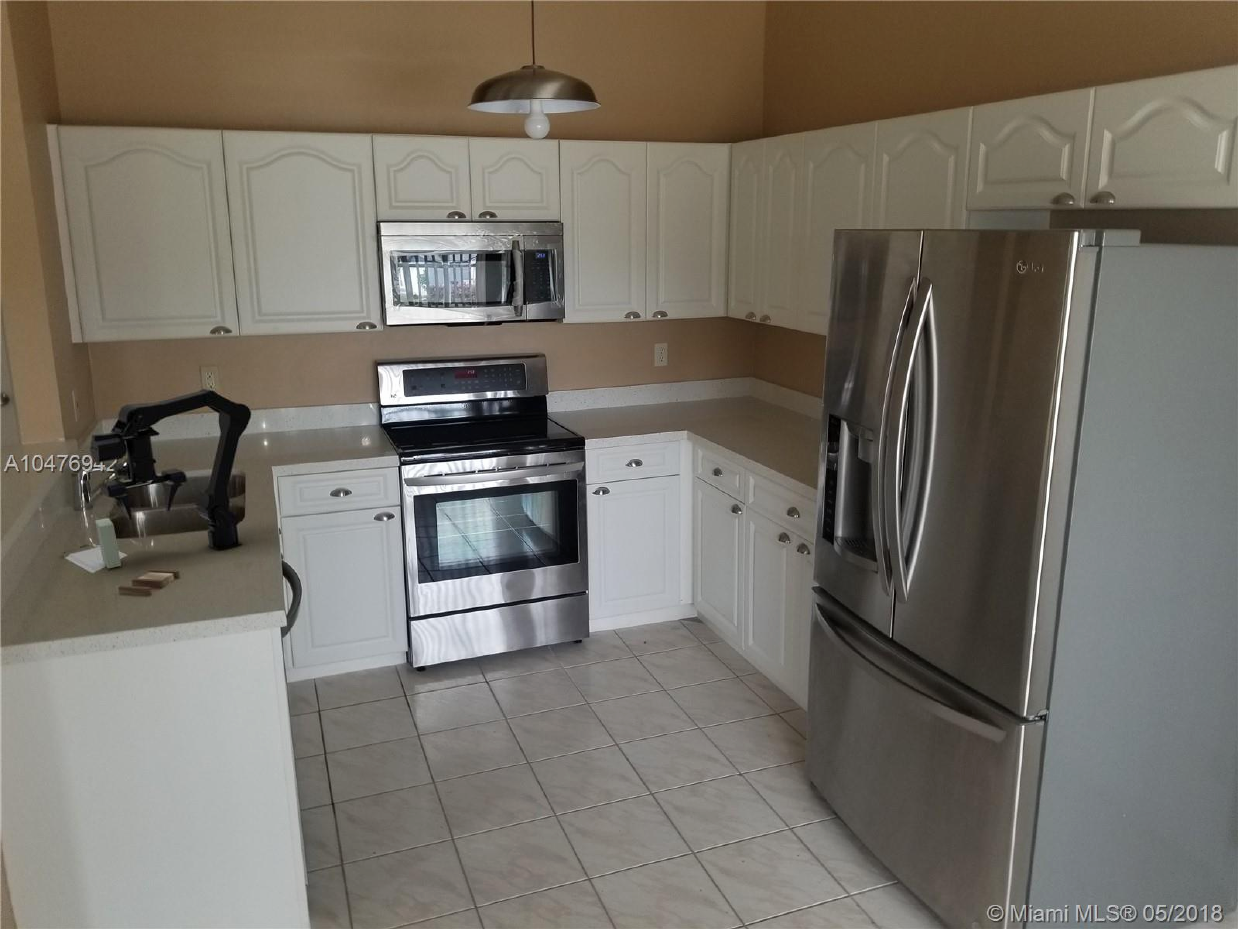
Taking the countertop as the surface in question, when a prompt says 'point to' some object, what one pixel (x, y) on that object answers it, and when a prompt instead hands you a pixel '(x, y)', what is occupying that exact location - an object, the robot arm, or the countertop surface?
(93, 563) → the baseboard
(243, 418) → the robot arm
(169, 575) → the offcut top
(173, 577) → the offcut low
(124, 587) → the rack
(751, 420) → the countertop surface
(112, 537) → the pale green block
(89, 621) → the countertop surface
